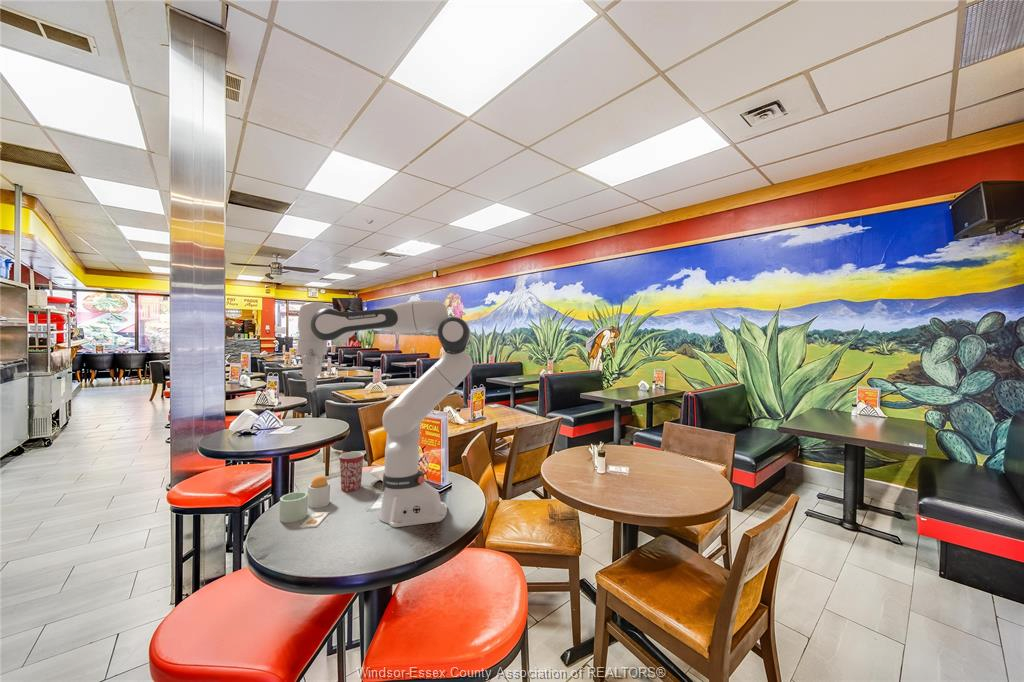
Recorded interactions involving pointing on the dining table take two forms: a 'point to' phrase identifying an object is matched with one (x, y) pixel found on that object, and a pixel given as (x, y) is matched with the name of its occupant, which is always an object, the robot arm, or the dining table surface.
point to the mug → (351, 471)
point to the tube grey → (318, 496)
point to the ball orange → (319, 482)
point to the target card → (314, 520)
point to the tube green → (293, 507)
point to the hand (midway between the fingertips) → (311, 390)
